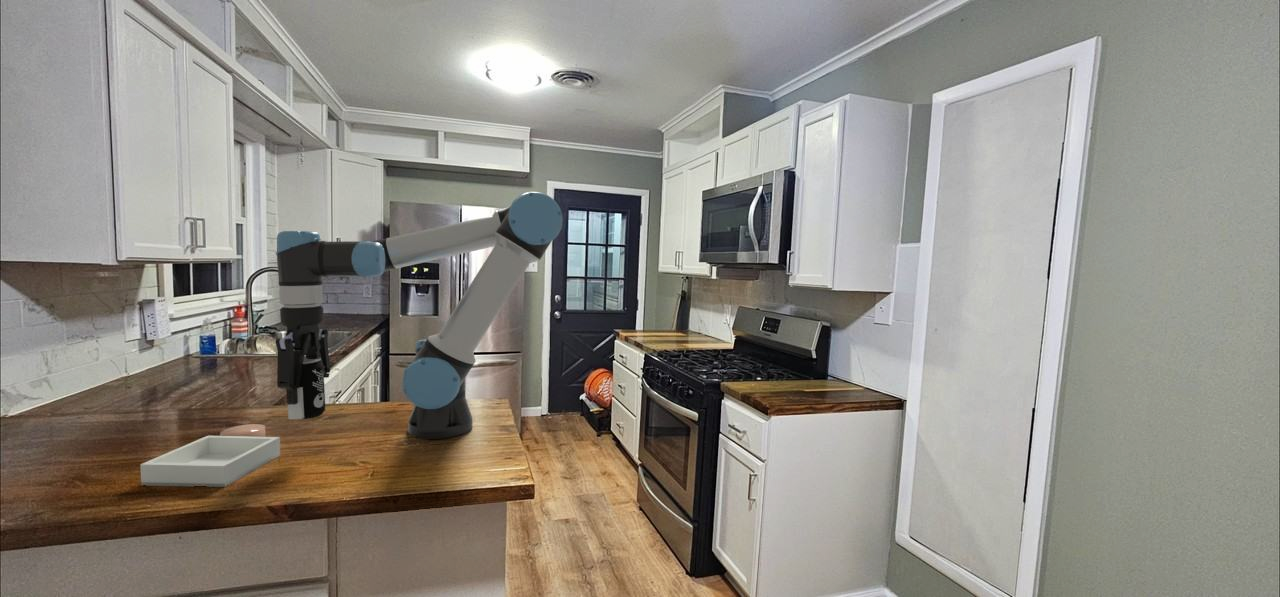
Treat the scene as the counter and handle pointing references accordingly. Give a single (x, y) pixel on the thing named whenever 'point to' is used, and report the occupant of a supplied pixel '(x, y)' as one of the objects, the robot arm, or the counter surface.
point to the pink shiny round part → (245, 431)
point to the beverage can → (313, 388)
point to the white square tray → (210, 461)
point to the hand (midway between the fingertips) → (307, 412)
